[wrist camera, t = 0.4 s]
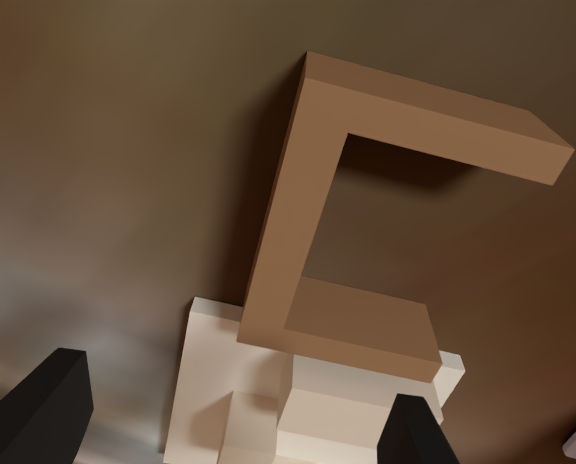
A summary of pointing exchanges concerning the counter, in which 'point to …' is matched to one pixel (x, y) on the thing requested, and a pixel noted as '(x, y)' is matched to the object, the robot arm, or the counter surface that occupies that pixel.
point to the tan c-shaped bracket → (314, 189)
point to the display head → (280, 400)
